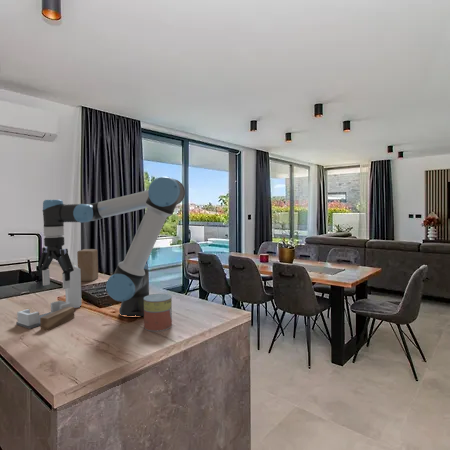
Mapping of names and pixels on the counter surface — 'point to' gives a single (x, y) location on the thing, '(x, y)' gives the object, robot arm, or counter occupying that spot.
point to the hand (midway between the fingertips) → (56, 286)
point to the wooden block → (88, 264)
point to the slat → (56, 318)
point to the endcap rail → (37, 315)
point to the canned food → (157, 312)
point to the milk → (74, 288)
